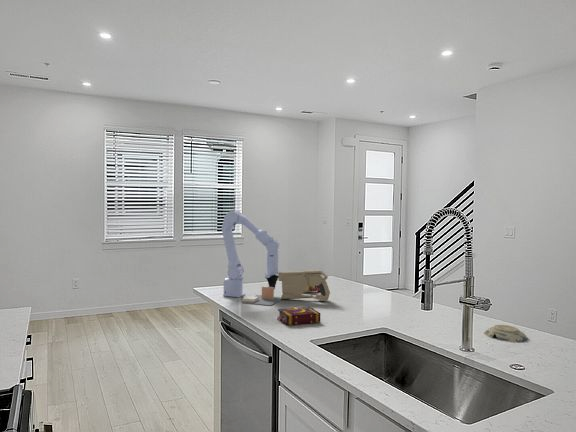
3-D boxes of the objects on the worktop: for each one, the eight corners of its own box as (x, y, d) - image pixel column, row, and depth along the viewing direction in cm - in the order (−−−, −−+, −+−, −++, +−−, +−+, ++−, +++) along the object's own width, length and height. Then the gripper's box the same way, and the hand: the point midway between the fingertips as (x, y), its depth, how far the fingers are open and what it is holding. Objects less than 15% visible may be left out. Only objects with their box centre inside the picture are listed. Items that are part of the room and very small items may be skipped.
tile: (261, 298, 224) (261, 286, 224) (262, 297, 225) (263, 286, 225) (272, 299, 222) (272, 287, 222) (273, 299, 223) (274, 287, 223)
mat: (242, 303, 215) (242, 302, 215) (257, 295, 232) (257, 294, 232) (270, 306, 210) (270, 305, 210) (284, 298, 227) (284, 297, 227)
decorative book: (320, 323, 183) (321, 311, 183) (284, 326, 177) (284, 314, 177) (310, 316, 193) (310, 305, 193) (275, 319, 188) (275, 307, 188)
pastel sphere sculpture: (326, 294, 240) (327, 277, 239) (283, 293, 240) (283, 276, 239) (323, 285, 264) (323, 270, 264) (284, 284, 265) (284, 269, 264)
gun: (330, 300, 224) (328, 269, 223) (330, 301, 221) (328, 270, 220) (280, 301, 226) (279, 271, 226) (279, 303, 223) (278, 272, 223)
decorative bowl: (531, 336, 170) (490, 328, 180) (532, 327, 170) (490, 319, 180) (522, 346, 159) (479, 337, 168) (523, 336, 159) (479, 327, 168)
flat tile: (253, 302, 215) (253, 299, 215) (242, 301, 217) (242, 298, 217) (258, 300, 220) (258, 296, 220) (247, 298, 222) (247, 295, 222)
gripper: (274, 265, 220) (274, 293, 221) (284, 262, 234) (284, 287, 234) (261, 264, 223) (261, 291, 223) (272, 261, 236) (271, 286, 237)
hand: (272, 289), depth 229 cm, fingers closed
